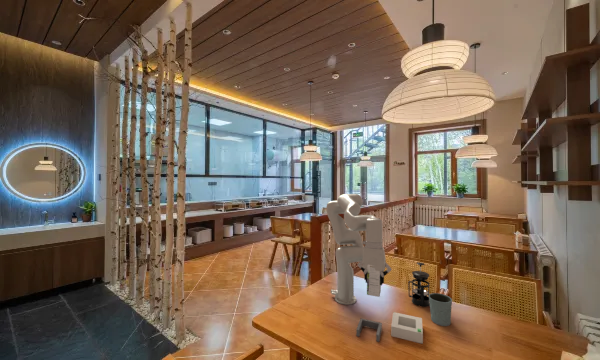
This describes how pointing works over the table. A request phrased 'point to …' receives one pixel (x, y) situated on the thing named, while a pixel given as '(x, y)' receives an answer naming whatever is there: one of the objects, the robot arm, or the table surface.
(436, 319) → the grey embossed plant pot
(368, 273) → the syrup box
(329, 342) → the table surface
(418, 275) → the french press
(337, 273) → the robot arm
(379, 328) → the grey u-shaped bracket
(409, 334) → the port
